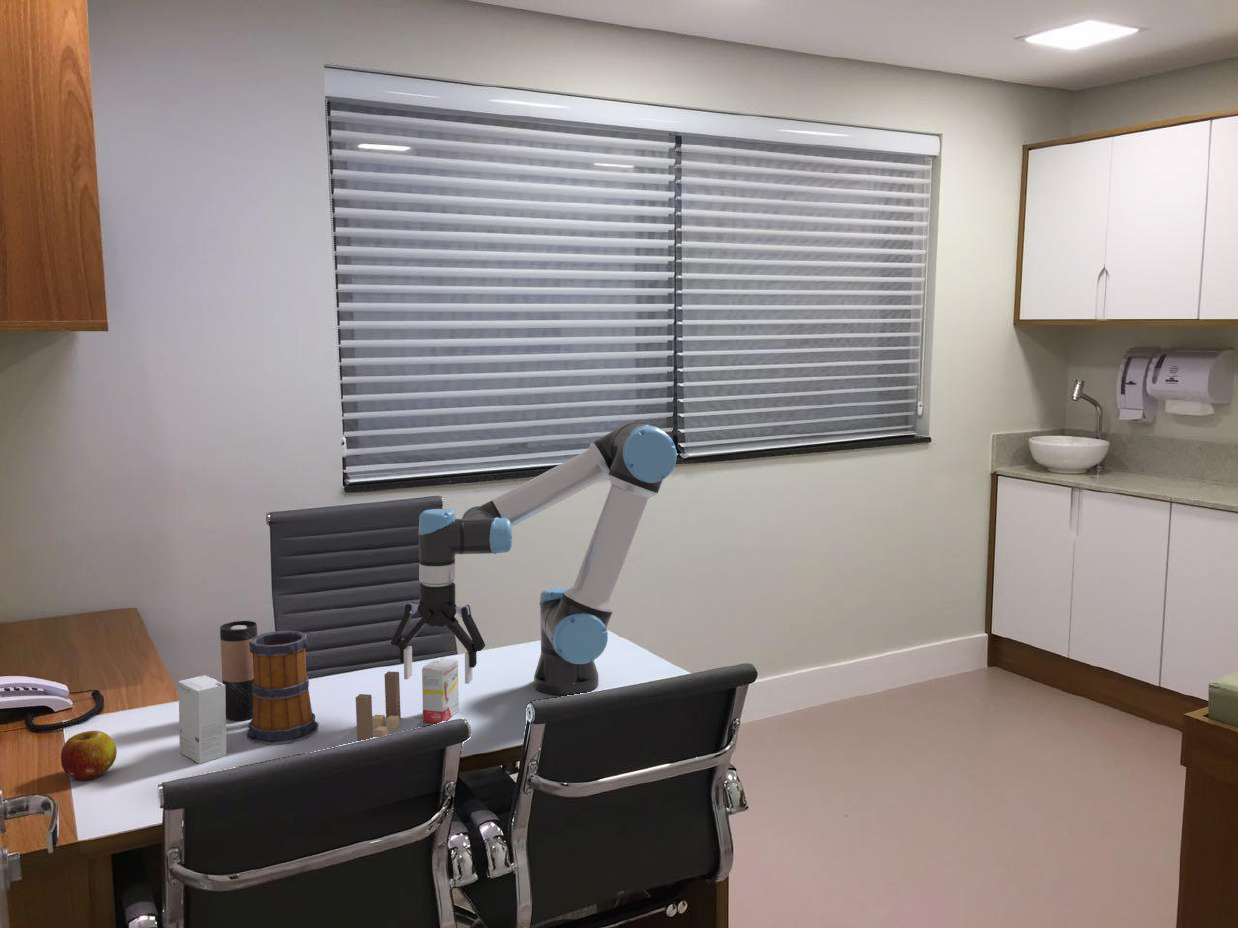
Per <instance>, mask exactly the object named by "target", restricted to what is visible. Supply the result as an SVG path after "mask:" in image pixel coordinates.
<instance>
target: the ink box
mask: <svg viewBox="0 0 1238 928" xmlns="http://www.w3.org/2000/svg"><path fill="white" fill-rule="evenodd" d="M421 675H422V676H421V677H422V679H421V682H422V683H421V684H422V687H421V689H422V723H430V724H431V723H432V724H439V723H438V722H442V721H446V720H447V721H448V720H450V719H451V718H452V717H454V715H456V714H457V713H458V712H459V711H460V698H459V697H460V695H459V694H460V693H459V660H458V659H456V658H455V659H454V658H450V657H449V658H447V657H437V658H435V659H433V660H431V662H429V663H427V664H425V665H424V666H423V667H422V669H421ZM450 717H451V718H450ZM447 721H446V722H447Z"/></svg>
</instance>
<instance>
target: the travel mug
mask: <svg viewBox="0 0 1238 928" xmlns="http://www.w3.org/2000/svg"><path fill="white" fill-rule="evenodd" d="M257 625H258V624H257V623H256V622H255V621H252V620H236V621H231V622H227V623H224V624H222V625H220V627H219V637H220V639H219V640H220V656H221V657H220V658H221V659H220V660H221V679H222V682H221V683H222V684H224V685H225V702H226V720H228V719H229V720H228V721H232V720H234V721H233V722H240V721H247V720H252V713H253V696H254V695H253V692H252V684H253V682H254V671H253V653H251V652H250V645H249V643H250V641H251V639H252V638H254V637H256V636H258V626H257Z"/></svg>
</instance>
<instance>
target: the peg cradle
mask: <svg viewBox="0 0 1238 928" xmlns="http://www.w3.org/2000/svg"><path fill="white" fill-rule="evenodd" d="M400 687H401V686H400V672H399V671H387V672H386V673H384V697H385V714H374V715H373V705H372V704H373V703H372V702H373V700H372V699H373V698H372V697H373V696H372V694H368V693H367V694H365V693H364V694H363V693H360V694H358V695H357V696H355V716H356V717H355V718H356V726H355V727H354V728H353V729H352V730H351V731H349V732H348V733H347V734H346V735H344V737H342V738H341V739H340V740H339V741H338V742H337V743H335V745H334V747H335V746H339V745H343V744H348V743H352V742H356V741H361V740H366V739H370V738H373V737H382V736H385V735H389V734H394V733H398V732H402V731H407V730H411V729H415V728H418V727H421V728H422V727H423V718H409V717H408V718H407V717H402V716H401V691H400V690H401V688H400Z"/></svg>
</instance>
